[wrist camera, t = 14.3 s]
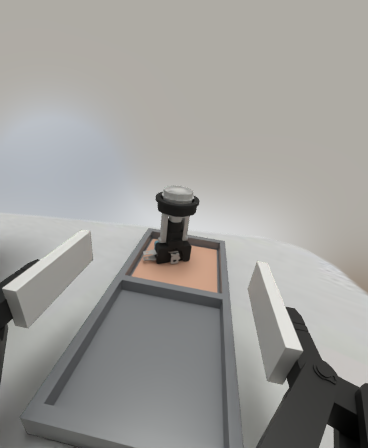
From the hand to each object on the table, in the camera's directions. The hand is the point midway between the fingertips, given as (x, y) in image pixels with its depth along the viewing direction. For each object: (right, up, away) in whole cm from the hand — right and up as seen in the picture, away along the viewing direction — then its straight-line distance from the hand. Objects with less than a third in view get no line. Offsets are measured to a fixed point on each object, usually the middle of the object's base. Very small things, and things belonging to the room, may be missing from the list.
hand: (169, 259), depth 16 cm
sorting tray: (0, -6, +7) cm, 9 cm away
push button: (-1, -2, +12) cm, 13 cm away
